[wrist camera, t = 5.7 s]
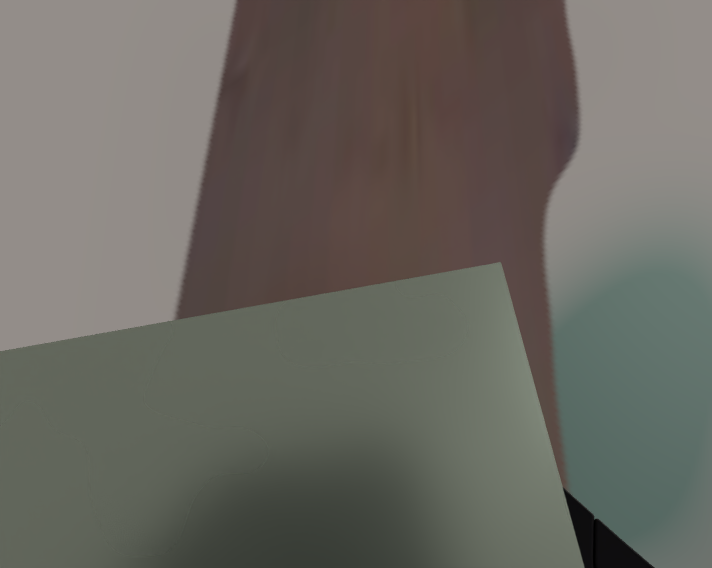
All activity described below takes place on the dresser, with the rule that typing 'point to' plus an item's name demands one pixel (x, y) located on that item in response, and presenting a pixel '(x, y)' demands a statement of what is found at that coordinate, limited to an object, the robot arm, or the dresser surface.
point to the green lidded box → (288, 438)
